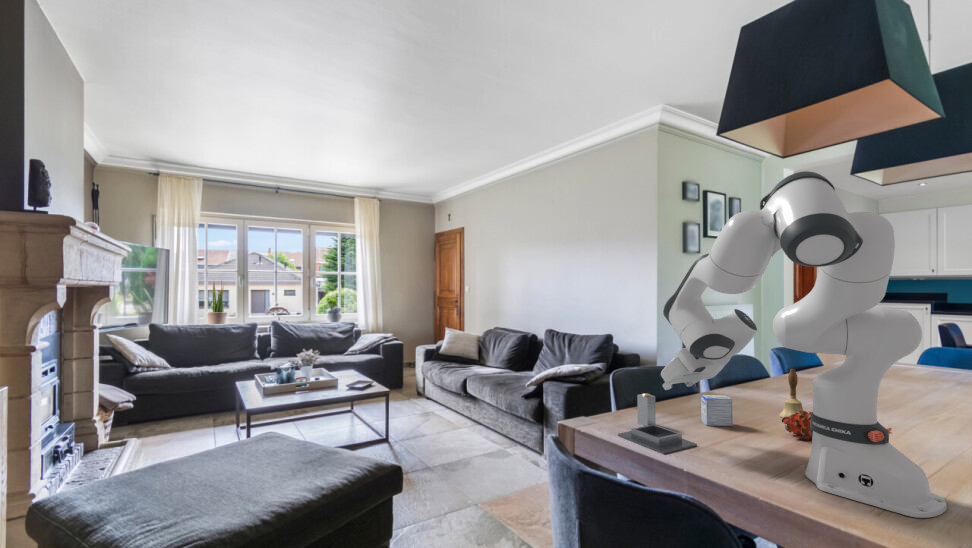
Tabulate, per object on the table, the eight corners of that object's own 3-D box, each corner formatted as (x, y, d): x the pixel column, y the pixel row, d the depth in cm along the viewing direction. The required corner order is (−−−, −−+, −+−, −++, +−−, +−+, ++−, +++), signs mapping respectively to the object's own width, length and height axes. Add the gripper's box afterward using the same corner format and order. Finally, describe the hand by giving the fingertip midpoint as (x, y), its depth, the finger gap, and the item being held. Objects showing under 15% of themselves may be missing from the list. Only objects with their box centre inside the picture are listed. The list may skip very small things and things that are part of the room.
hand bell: (773, 413, 151) (772, 367, 151) (797, 414, 151) (796, 367, 151) (789, 421, 142) (788, 371, 143) (815, 421, 142) (814, 371, 143)
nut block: (655, 425, 137) (655, 394, 138) (647, 426, 136) (647, 396, 136) (645, 421, 141) (645, 392, 141) (637, 423, 139) (637, 393, 139)
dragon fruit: (830, 452, 119) (785, 445, 130) (841, 430, 123) (796, 424, 134) (814, 428, 118) (770, 422, 129) (826, 406, 122) (782, 402, 133)
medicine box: (726, 422, 141) (726, 395, 141) (733, 427, 136) (732, 398, 136) (701, 421, 141) (700, 394, 142) (706, 426, 137) (706, 398, 137)
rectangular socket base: (696, 446, 119) (696, 436, 119) (663, 454, 113) (663, 443, 113) (649, 429, 133) (649, 420, 133) (618, 435, 127) (618, 426, 127)
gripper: (722, 345, 127) (693, 374, 135) (674, 350, 117) (646, 380, 126) (738, 363, 123) (706, 391, 131) (689, 369, 113) (658, 399, 122)
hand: (676, 386), depth 128 cm, fingers open, 8 cm apart
